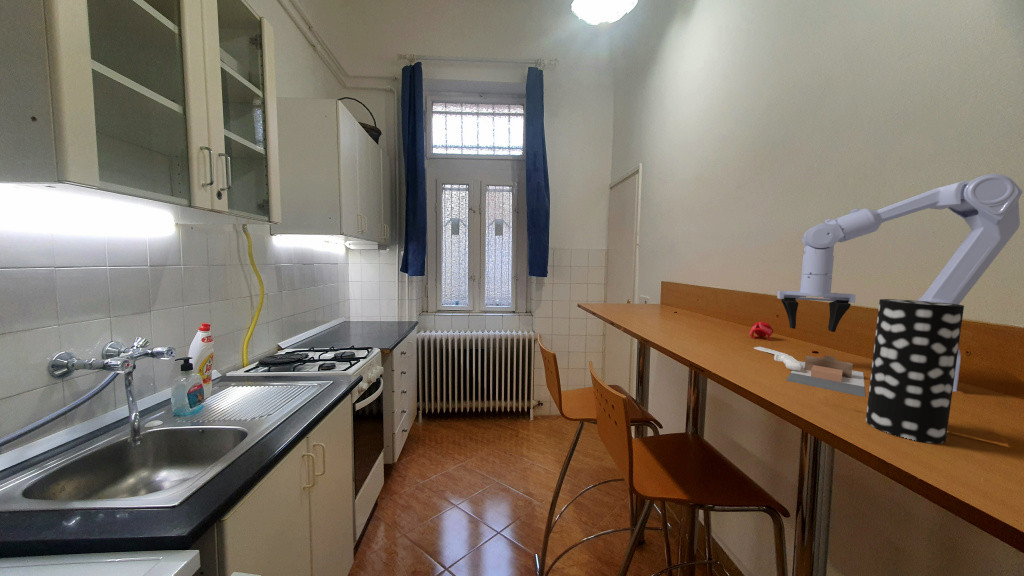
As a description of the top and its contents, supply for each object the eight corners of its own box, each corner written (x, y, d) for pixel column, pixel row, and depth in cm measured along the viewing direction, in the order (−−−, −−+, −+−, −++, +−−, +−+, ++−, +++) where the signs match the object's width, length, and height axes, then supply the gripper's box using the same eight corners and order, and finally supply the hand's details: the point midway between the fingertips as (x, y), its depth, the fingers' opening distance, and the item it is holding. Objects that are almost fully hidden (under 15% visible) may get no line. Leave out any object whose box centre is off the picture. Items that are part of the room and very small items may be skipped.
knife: (746, 341, 110) (777, 343, 107) (746, 346, 110) (777, 349, 107) (762, 360, 84) (803, 364, 80) (762, 367, 84) (803, 371, 80)
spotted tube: (938, 429, 55) (955, 303, 53) (952, 450, 49) (972, 307, 47) (863, 413, 60) (876, 298, 59) (867, 429, 54) (882, 301, 52)
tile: (841, 377, 78) (842, 370, 78) (841, 382, 75) (842, 374, 75) (812, 371, 82) (813, 364, 82) (810, 376, 78) (811, 369, 78)
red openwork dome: (775, 332, 114) (778, 321, 117) (755, 324, 116) (758, 314, 120) (764, 348, 119) (767, 337, 122) (745, 340, 122) (748, 329, 125)
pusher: (851, 372, 82) (852, 359, 82) (851, 378, 78) (852, 365, 77) (806, 364, 87) (808, 352, 87) (804, 369, 83) (805, 357, 83)
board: (862, 374, 82) (863, 372, 82) (865, 399, 67) (865, 396, 67) (797, 362, 91) (797, 360, 91) (785, 382, 75) (786, 380, 75)
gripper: (848, 275, 86) (843, 329, 87) (776, 273, 92) (772, 324, 93) (861, 276, 80) (856, 334, 81) (783, 273, 86) (778, 328, 87)
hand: (811, 329), depth 86 cm, fingers open, 7 cm apart
